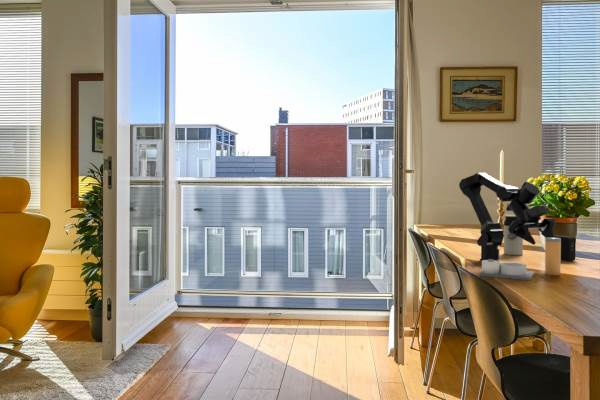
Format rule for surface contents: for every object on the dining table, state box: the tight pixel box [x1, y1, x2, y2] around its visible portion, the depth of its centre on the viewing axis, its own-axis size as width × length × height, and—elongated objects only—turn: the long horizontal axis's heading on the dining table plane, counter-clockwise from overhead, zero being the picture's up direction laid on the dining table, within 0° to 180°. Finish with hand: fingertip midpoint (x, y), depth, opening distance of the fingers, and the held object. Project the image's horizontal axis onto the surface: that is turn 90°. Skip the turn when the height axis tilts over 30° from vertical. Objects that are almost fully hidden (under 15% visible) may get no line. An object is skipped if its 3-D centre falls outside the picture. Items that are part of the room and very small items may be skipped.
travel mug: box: [503, 214, 524, 256], centre depth 229 cm, size 8×8×18 cm
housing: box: [479, 259, 535, 281], centre depth 181 cm, size 16×12×6 cm
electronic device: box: [553, 234, 577, 262], centre depth 213 cm, size 4×10×10 cm, turn 28°
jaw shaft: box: [544, 237, 562, 276], centre depth 182 cm, size 5×5×13 cm
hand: (544, 243), depth 185 cm, fingers open, 9 cm apart
